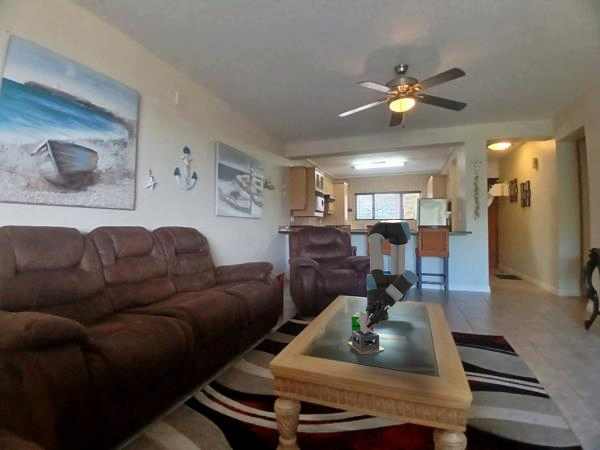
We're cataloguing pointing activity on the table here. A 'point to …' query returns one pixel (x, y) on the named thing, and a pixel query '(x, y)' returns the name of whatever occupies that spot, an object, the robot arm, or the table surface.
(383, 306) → the robot arm
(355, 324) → the puzzle cube
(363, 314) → the tube
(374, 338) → the collar stand
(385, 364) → the table surface
